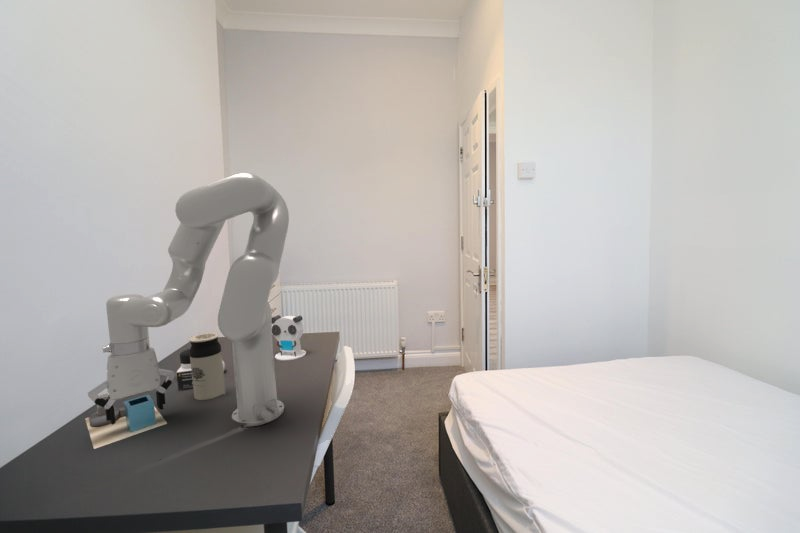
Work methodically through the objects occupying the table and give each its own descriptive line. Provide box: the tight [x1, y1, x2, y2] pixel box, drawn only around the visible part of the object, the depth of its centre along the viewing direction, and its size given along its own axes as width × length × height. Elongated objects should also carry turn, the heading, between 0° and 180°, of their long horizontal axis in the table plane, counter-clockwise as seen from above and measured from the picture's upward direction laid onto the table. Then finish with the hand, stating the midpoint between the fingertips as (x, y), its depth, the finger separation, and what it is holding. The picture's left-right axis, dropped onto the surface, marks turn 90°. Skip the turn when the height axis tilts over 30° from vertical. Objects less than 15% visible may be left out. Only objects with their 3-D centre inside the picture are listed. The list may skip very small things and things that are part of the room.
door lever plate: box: [84, 392, 168, 450], centre depth 93 cm, size 20×14×8 cm
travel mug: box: [188, 332, 226, 401], centre depth 106 cm, size 8×8×18 cm
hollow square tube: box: [123, 394, 156, 432], centre depth 91 cm, size 5×5×6 cm
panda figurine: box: [272, 314, 307, 361], centre depth 140 cm, size 12×11×15 cm
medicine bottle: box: [175, 348, 194, 392], centre depth 114 cm, size 7×7×12 cm
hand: (137, 414), depth 91 cm, fingers open, 9 cm apart
